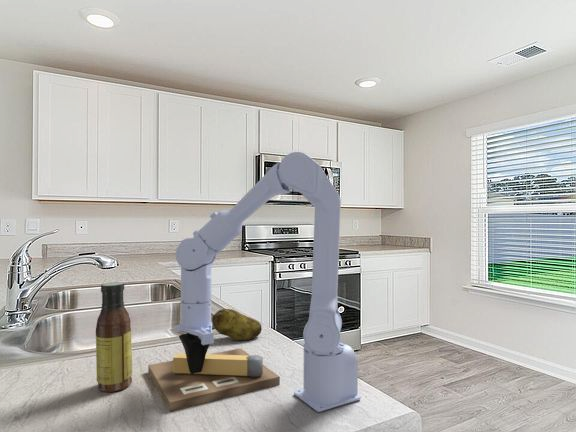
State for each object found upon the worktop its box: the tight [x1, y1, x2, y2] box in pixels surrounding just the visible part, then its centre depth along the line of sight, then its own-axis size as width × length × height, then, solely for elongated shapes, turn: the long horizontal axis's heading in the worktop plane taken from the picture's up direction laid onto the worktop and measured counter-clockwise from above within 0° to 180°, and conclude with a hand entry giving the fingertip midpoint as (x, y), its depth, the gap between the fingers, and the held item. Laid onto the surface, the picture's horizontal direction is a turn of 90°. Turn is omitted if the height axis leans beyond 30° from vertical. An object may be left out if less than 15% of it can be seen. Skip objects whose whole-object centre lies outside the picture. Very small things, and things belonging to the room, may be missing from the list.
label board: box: [147, 348, 281, 412], centre depth 76 cm, size 21×19×2 cm
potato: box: [211, 308, 262, 341], centre depth 102 cm, size 8×13×8 cm, turn 82°
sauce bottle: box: [95, 281, 133, 393], centre depth 72 cm, size 7×6×20 cm
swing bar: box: [172, 352, 264, 377], centre depth 75 cm, size 18×3×3 cm, turn 85°
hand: (195, 372), depth 72 cm, fingers closed
